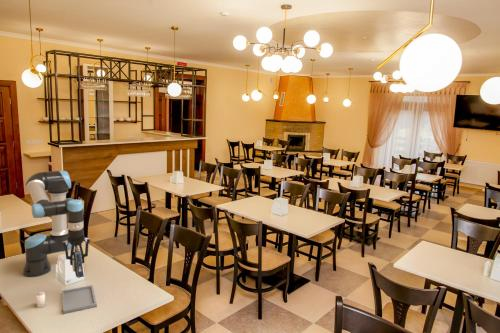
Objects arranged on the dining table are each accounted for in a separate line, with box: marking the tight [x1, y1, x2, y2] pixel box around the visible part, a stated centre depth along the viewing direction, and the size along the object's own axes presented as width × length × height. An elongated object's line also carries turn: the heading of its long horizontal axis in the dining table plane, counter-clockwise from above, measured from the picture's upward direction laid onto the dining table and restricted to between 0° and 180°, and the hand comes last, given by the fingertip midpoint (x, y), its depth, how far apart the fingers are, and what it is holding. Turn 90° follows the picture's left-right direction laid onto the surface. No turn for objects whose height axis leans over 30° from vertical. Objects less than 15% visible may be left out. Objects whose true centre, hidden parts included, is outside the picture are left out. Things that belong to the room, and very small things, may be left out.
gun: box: [71, 245, 85, 279], centre depth 191 cm, size 3×17×15 cm
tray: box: [61, 284, 98, 315], centre depth 194 cm, size 22×16×2 cm
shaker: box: [35, 290, 46, 309], centre depth 186 cm, size 4×4×9 cm
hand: (77, 269), depth 191 cm, fingers closed on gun, 3 cm apart
